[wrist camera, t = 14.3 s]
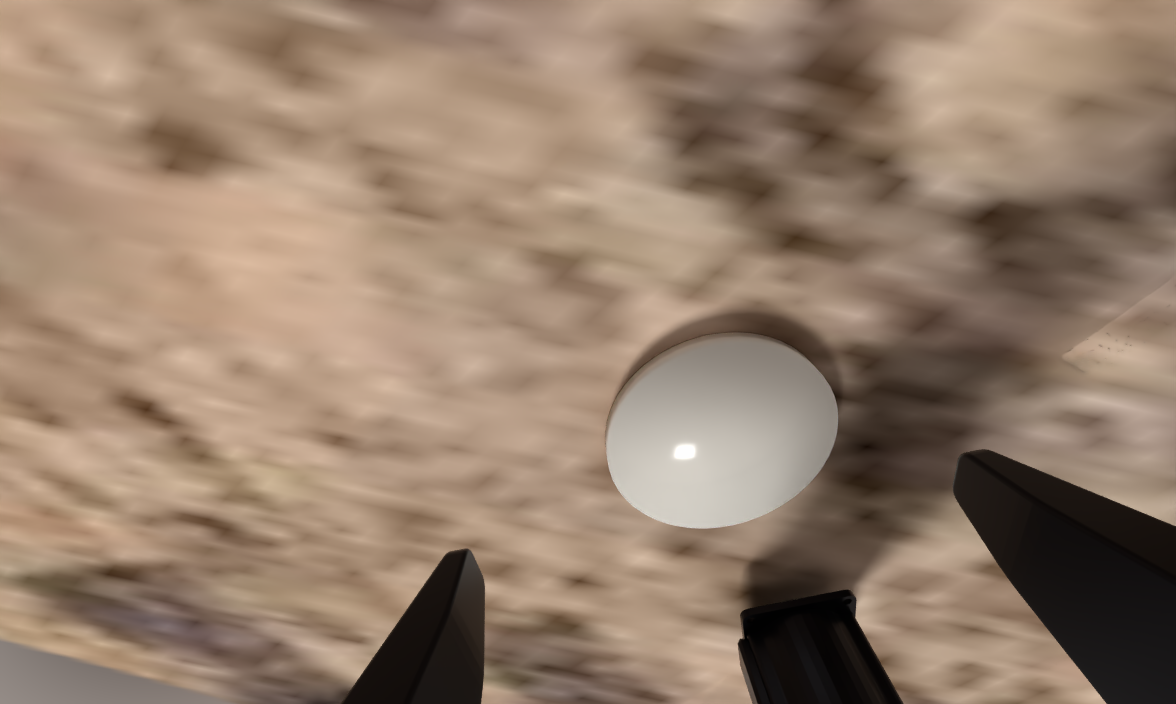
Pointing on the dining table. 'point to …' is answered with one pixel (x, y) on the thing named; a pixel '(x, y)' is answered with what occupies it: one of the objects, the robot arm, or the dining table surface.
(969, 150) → the dining table surface
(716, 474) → the white round plate
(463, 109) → the dining table surface
